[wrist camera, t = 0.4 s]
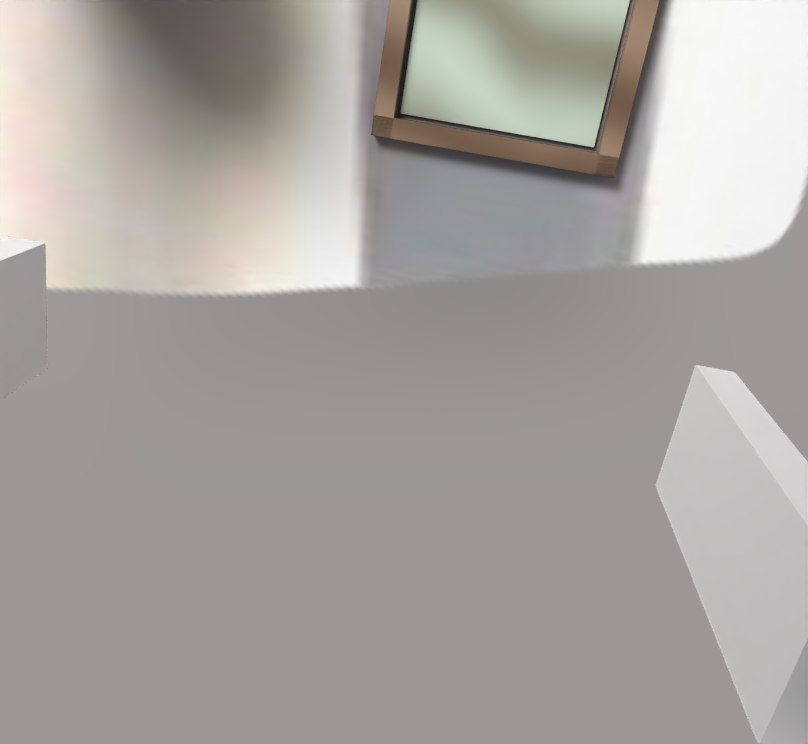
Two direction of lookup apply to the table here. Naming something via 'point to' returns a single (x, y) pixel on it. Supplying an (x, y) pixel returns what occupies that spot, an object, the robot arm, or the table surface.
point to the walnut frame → (515, 76)
